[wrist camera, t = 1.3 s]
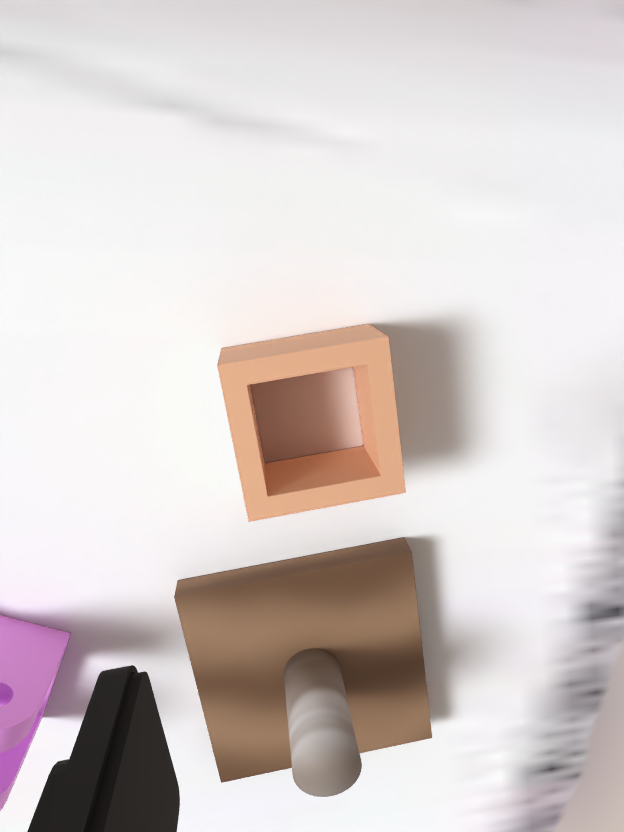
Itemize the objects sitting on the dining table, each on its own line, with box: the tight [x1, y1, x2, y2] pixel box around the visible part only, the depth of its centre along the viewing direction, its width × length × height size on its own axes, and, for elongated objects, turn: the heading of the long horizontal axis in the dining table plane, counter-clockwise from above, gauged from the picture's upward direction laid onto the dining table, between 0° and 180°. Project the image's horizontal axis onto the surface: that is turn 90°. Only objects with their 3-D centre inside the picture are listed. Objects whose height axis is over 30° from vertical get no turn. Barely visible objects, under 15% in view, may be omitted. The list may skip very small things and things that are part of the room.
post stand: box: [174, 538, 432, 797], centre depth 29 cm, size 12×12×8 cm
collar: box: [217, 324, 406, 522], centre depth 26 cm, size 7×7×4 cm
